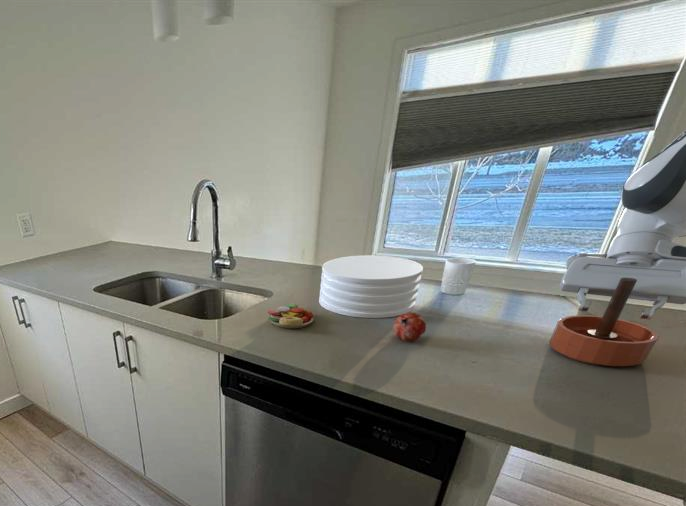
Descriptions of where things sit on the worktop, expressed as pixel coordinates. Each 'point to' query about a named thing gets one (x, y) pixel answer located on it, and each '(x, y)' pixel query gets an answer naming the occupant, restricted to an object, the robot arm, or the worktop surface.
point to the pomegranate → (409, 327)
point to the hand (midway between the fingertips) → (613, 313)
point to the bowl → (603, 341)
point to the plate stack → (370, 286)
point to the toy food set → (291, 316)
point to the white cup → (457, 275)
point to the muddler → (613, 310)
